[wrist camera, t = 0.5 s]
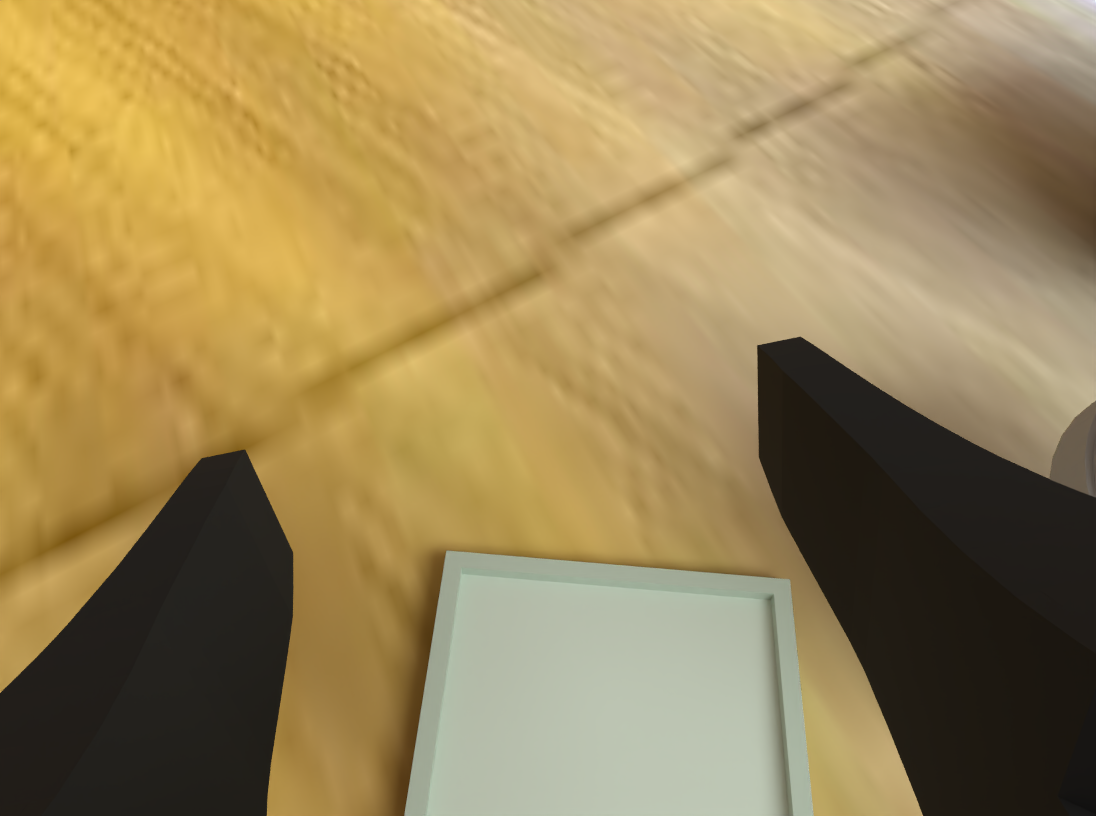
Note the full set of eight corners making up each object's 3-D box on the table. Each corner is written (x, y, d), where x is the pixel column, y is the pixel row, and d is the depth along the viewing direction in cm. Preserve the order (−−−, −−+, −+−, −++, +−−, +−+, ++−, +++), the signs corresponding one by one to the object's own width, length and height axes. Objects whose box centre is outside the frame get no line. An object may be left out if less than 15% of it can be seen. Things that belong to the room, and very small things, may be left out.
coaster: (820, 989, 25) (830, 986, 24) (387, 950, 25) (383, 946, 24) (783, 591, 32) (789, 579, 31) (447, 562, 32) (446, 550, 32)
